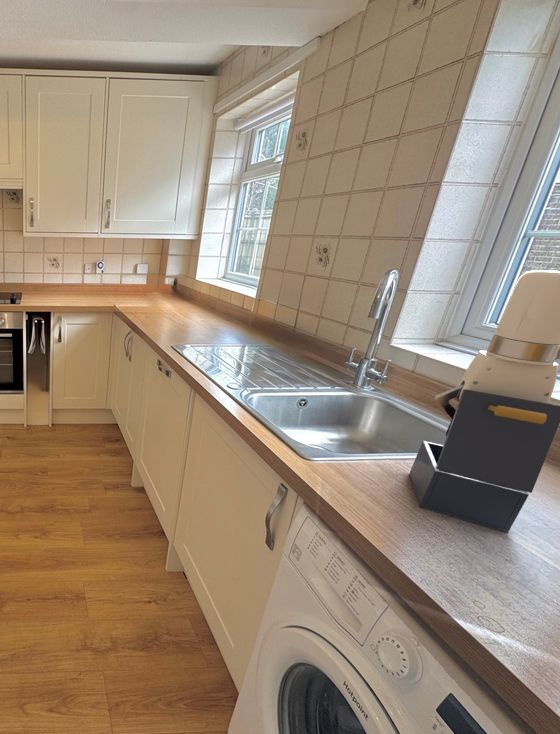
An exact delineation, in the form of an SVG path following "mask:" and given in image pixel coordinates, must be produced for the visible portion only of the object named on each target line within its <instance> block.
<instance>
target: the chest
mask: <svg viewBox="0 0 560 734" xmlns="http://www.w3.org/2000/svg"><path fill="white" fill-rule="evenodd" d="M443 446H444V444H440V443H435V442H431V441H426V440H422V442H421V444H420V447H419V449H418V451H417V453H416V456H415V459H414V461H413V463H412V466H411V468H410V471H409V477H410V480H411V484H412V487H413V490H414V495H415V498H416V501H417V504H418V507H419V508H421V509H424V510H428V511H431V512H435V513H438V514H442V515H445V516H448V517H451V518H454V519H458V520H461V521H465V522H469V523H471V524H476V525H478V526H482V527H485V528H488V529H492V530H496V531H499V532H503V533H505V534H508V533H509V532H510V530H511V528H512V526H513V525H514V523H515V521H516V519H517V518H518V516H519V513H520V512H521V511H522V508H523V506H524V505H525V503H526V501H527V499H528V498H529V497H530V493H529V492H525V491H521V490H517V489H514V488H510V487H506V486H502V485H498V484H494V483H490V482H486V481H482V480H478V479H474V478H470V477H466V476H462V475H458V474H454V473H450V472H446V471H442V470H439V469H436V466H437V463H438V460H439V457H440V454H441V451H442V449H443Z"/></svg>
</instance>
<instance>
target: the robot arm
mask: <svg viewBox="0 0 560 734" xmlns="http://www.w3.org/2000/svg"><path fill="white" fill-rule="evenodd" d="M558 359H560V270H545V269H544V270H543V269H540V270H537V269H536V270H535V269H534V270H528V271H526V272H524V273H523V274H522V275H520V276H519V278H518V279H517V281H516V283H515V286H514V287H513V290H512V292H511V294H510V297H509V299H508V302H507V304H506V306H505V308H504V311H503V312H502V315H501V318H500V320H499V322H498V324H497V327H496V329H495V331H494V334H493V336H492V338H491V340H490V343H489V345H488V347H487V350H479V352H478V353H476V355H475V356H474V357H473V359H472V361H471V362H470V364H469V365H468V367H467V369H466V370H465V372H464V374H463V375H462V377H461V378H460V381H459V383H458V385H457V386H455V387H453V388H451V389H448V390H446V391H443V392H442V393H439V394H437V395H435V396H434V397H435V400H436V402H437V403H438V404H439V405H440V406H441V408H442V409H443V411H445V413H447V415H448V416H449V417H450V419H451V420H450V423H449V425H448V427H447V430H446V432H445V438H446V437H447V434H448V432H449V429H450V426H451V423H452V420H453V417H454V414H455V412H456V408H455V407H454V406H453V404H451V402H450V401H451V400H455V401H457V402H458V403H459V400H460V397H461V394H462V392H463V389H467V390H473V391H478V392H484V393H490V394H496V395H501V396H507V397H513V398H519V399H525V400H530V401H536V402H542V403H548V404H550V400H551V397H552V395H553V392H554V389H555V386H556V382H557V378H558V374H559V373H558V372H559V366H560V364H559V363H558V362H557V361H558Z"/></svg>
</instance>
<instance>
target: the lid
mask: <svg viewBox="0 0 560 734" xmlns="http://www.w3.org/2000/svg"><path fill="white" fill-rule="evenodd" d="M455 410H456V412H455V414H454V417H453V420H452V419H451V420H452V423H451V426H450V429H449V432H448V434H447V437H446V436H445V441H444V443H443V445H444V446H443V449H442V451H441V454H440V457H439V460H438V463H437V466H436V469H439V470H442V471H446V472H450V473H454V474H458V475H462V476H466V477H470V478H474V479H478V480H482V481H486V482H490V483H494V484H498V485H502V486H506V487H510V488H514V489H517V490H521V491H525V492H527V493H528V494H532V493H533V491H534V489H535V486H536V483H537V480H538V479H539V476H540V473H541V471H542V469H543V466H544V463H545V461H546V458H547V456H548V453H549V451H550V448H551V446H552V443H553V441H554V438H555V435H556V433H557V432H558V428H559V426H560V405H558V404H552V403H549V404H548V403H542V402H536V401H530V400H525V399H519V398H513V397H507V396H501V395H496V394H490V393H484V392H478V391H473V390H467V389H463V392H462V394H461V397H460V400H459V402H458V404H457V406H456V408H455Z"/></svg>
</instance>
